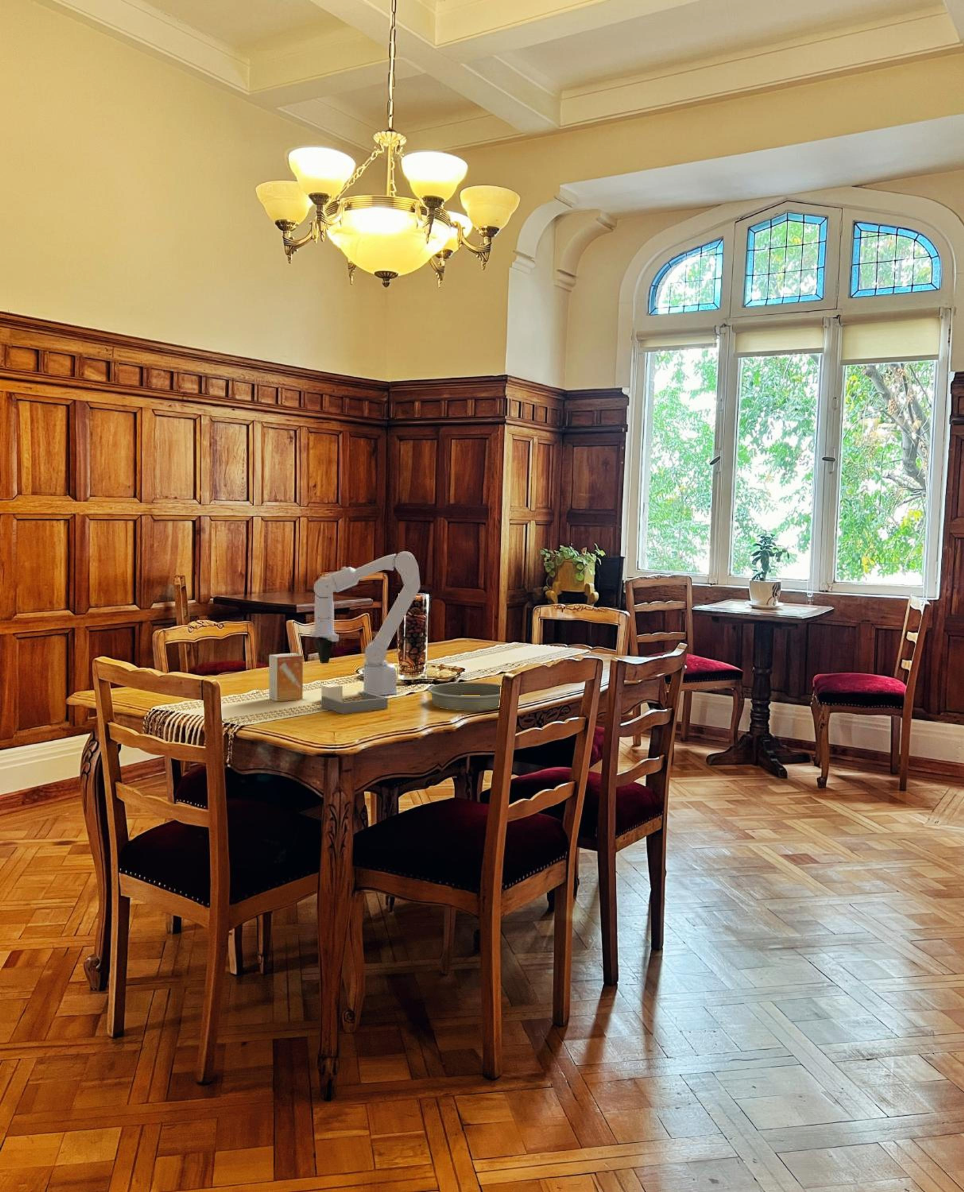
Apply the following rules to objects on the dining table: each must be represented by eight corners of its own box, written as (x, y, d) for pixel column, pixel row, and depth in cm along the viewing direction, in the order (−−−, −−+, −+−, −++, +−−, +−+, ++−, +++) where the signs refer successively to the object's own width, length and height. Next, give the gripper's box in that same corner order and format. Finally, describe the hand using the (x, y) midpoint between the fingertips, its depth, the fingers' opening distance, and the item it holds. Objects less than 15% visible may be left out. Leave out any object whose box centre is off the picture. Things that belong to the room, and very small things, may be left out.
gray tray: (365, 701, 291) (365, 691, 291) (387, 708, 281) (387, 697, 280) (321, 706, 283) (321, 696, 282) (343, 714, 272) (342, 703, 272)
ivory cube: (335, 698, 295) (335, 683, 295) (342, 701, 292) (342, 685, 291) (321, 700, 293) (321, 685, 293) (328, 702, 289) (328, 687, 289)
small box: (277, 702, 289) (276, 657, 288) (268, 698, 294) (268, 654, 293) (303, 699, 294) (303, 655, 293) (294, 696, 299) (294, 652, 298)
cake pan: (530, 705, 290) (531, 689, 289) (467, 716, 273) (467, 699, 272) (472, 693, 307) (472, 678, 307) (409, 703, 291) (410, 687, 290)
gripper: (301, 616, 304) (301, 661, 305) (323, 620, 292) (323, 667, 294) (322, 615, 308) (322, 659, 309) (345, 619, 297) (345, 665, 298)
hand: (324, 663), depth 302 cm, fingers closed
